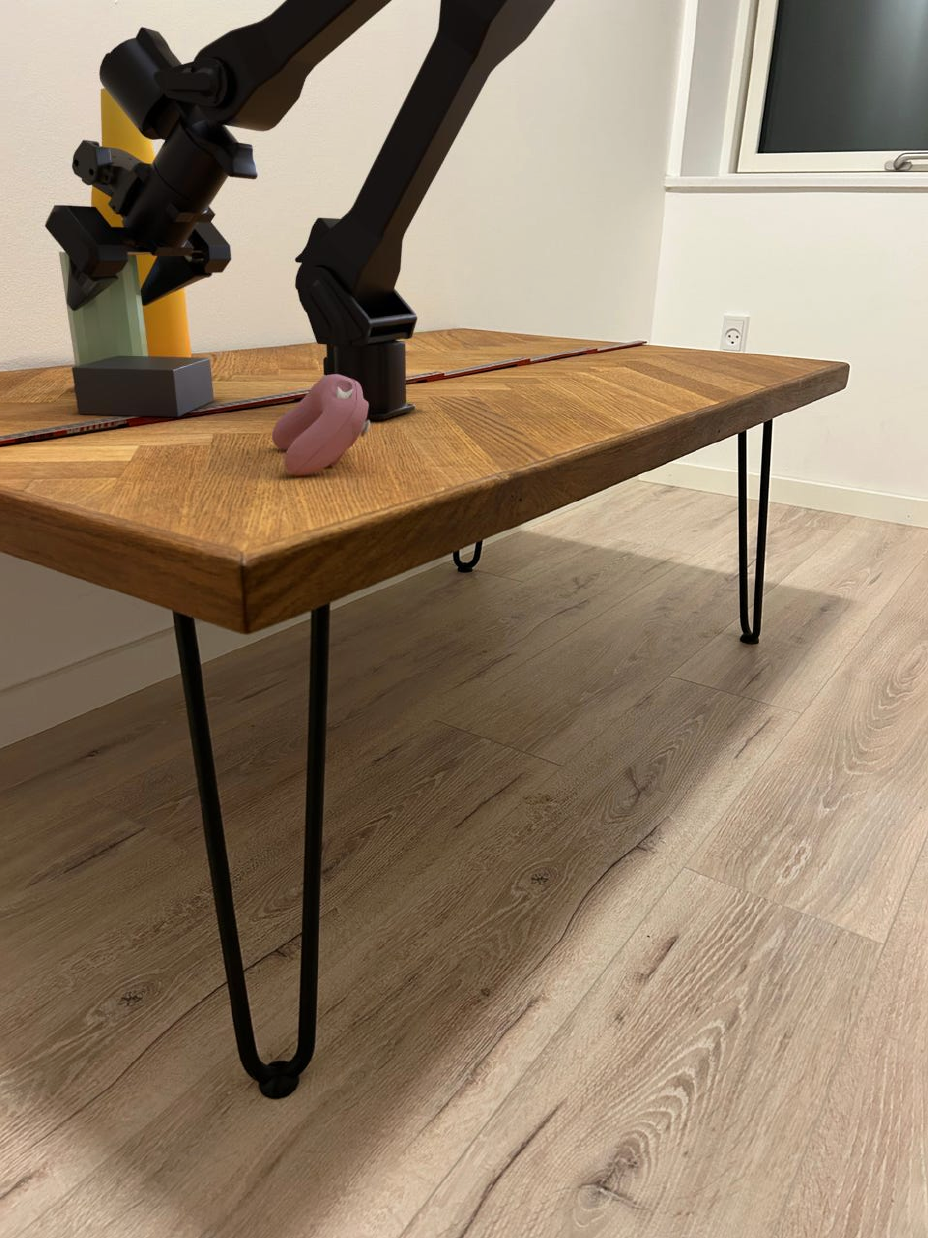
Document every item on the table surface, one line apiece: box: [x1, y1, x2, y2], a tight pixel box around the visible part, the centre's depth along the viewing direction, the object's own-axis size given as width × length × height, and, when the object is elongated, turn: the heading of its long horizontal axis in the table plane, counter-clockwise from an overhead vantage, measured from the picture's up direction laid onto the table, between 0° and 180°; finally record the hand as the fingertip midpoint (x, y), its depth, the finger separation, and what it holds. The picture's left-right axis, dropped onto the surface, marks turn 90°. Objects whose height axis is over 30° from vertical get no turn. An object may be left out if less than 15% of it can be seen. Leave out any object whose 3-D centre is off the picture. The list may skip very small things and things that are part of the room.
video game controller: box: [271, 374, 371, 477], centre depth 63 cm, size 10×5×7 cm, turn 17°
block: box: [71, 356, 215, 418], centre depth 83 cm, size 9×9×4 cm
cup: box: [58, 251, 148, 367], centre depth 91 cm, size 7×7×13 cm
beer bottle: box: [90, 87, 192, 357], centre depth 104 cm, size 9×9×29 cm
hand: (107, 304), depth 90 cm, fingers open, 9 cm apart
